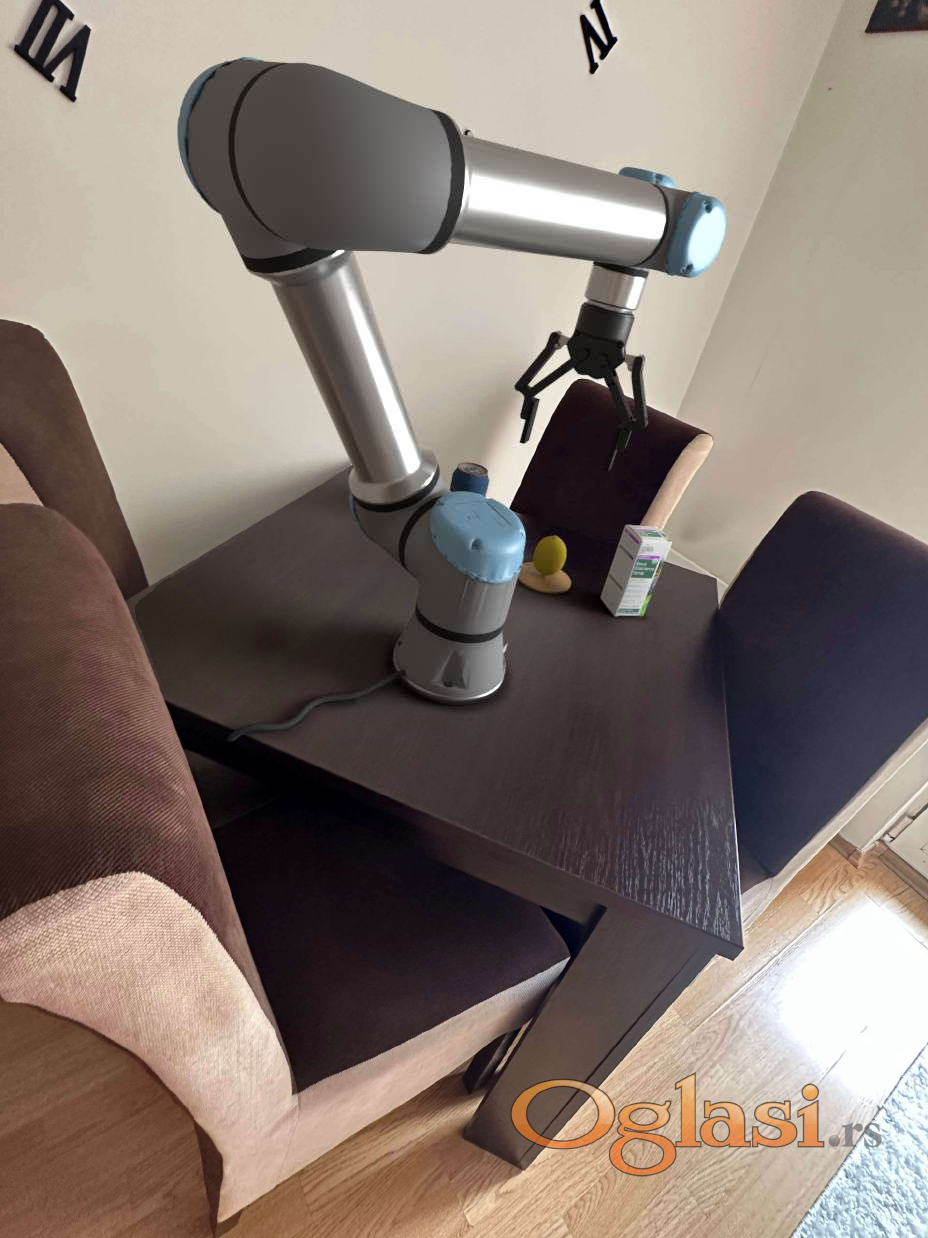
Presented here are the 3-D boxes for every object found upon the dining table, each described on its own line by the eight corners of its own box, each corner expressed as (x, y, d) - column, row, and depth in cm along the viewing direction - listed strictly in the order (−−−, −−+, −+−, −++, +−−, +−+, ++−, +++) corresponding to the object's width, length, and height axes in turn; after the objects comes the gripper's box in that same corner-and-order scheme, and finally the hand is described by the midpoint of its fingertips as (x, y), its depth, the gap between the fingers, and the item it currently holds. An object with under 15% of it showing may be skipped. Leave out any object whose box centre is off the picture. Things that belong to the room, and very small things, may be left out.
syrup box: (613, 617, 108) (643, 540, 100) (598, 597, 113) (625, 522, 105) (643, 617, 110) (674, 541, 102) (627, 597, 115) (655, 524, 107)
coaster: (545, 599, 109) (545, 597, 109) (503, 570, 114) (504, 568, 114) (581, 585, 115) (582, 583, 115) (541, 559, 121) (541, 557, 120)
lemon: (558, 571, 117) (570, 532, 113) (559, 587, 112) (572, 546, 108) (528, 565, 117) (539, 525, 112) (528, 580, 112) (539, 539, 108)
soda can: (439, 517, 127) (449, 459, 120) (472, 519, 129) (484, 462, 123) (448, 534, 122) (460, 474, 115) (483, 535, 124) (496, 477, 118)
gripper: (701, 328, 89) (647, 474, 100) (532, 282, 95) (499, 425, 106) (696, 333, 83) (639, 487, 94) (516, 283, 88) (482, 435, 100)
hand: (565, 455), depth 100 cm, fingers open, 13 cm apart
